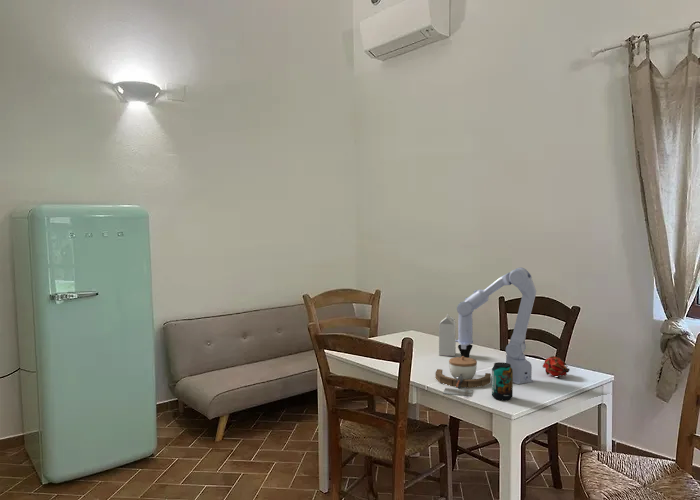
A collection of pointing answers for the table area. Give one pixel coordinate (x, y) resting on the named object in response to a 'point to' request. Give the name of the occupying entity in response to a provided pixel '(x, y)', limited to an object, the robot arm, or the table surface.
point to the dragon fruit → (555, 366)
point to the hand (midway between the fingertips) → (465, 362)
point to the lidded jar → (463, 367)
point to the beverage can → (502, 381)
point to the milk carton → (447, 336)
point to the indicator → (459, 380)
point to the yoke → (466, 383)
